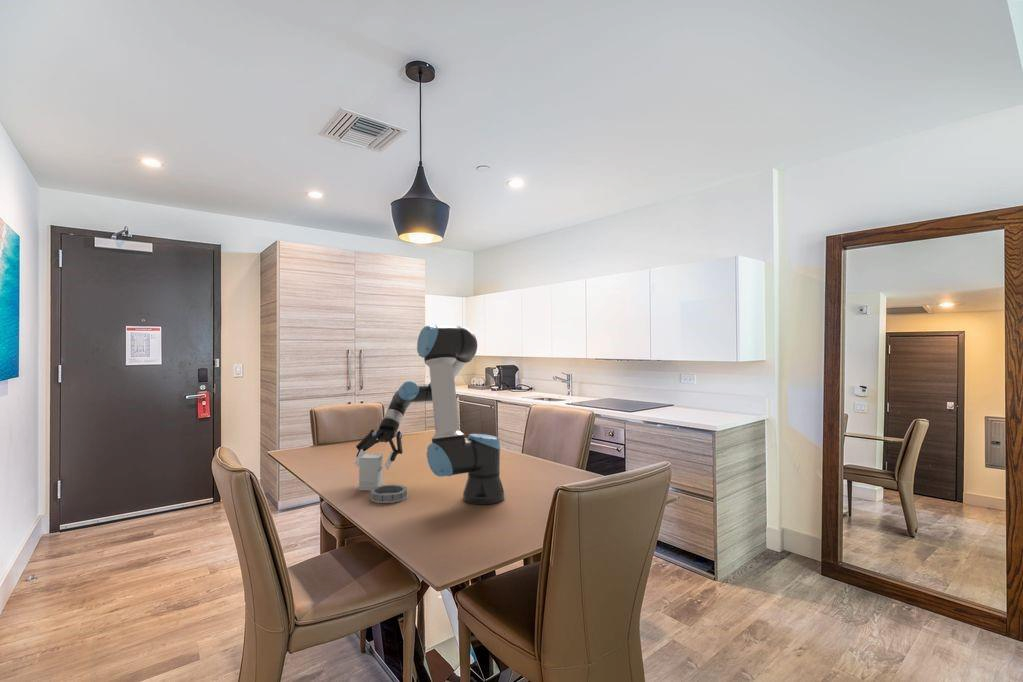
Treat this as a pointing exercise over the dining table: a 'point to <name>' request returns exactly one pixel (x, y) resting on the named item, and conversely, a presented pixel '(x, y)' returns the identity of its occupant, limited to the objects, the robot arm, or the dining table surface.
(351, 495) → the dining table surface
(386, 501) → the round holder
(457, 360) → the robot arm
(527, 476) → the dining table surface
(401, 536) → the dining table surface
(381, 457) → the supplement box
